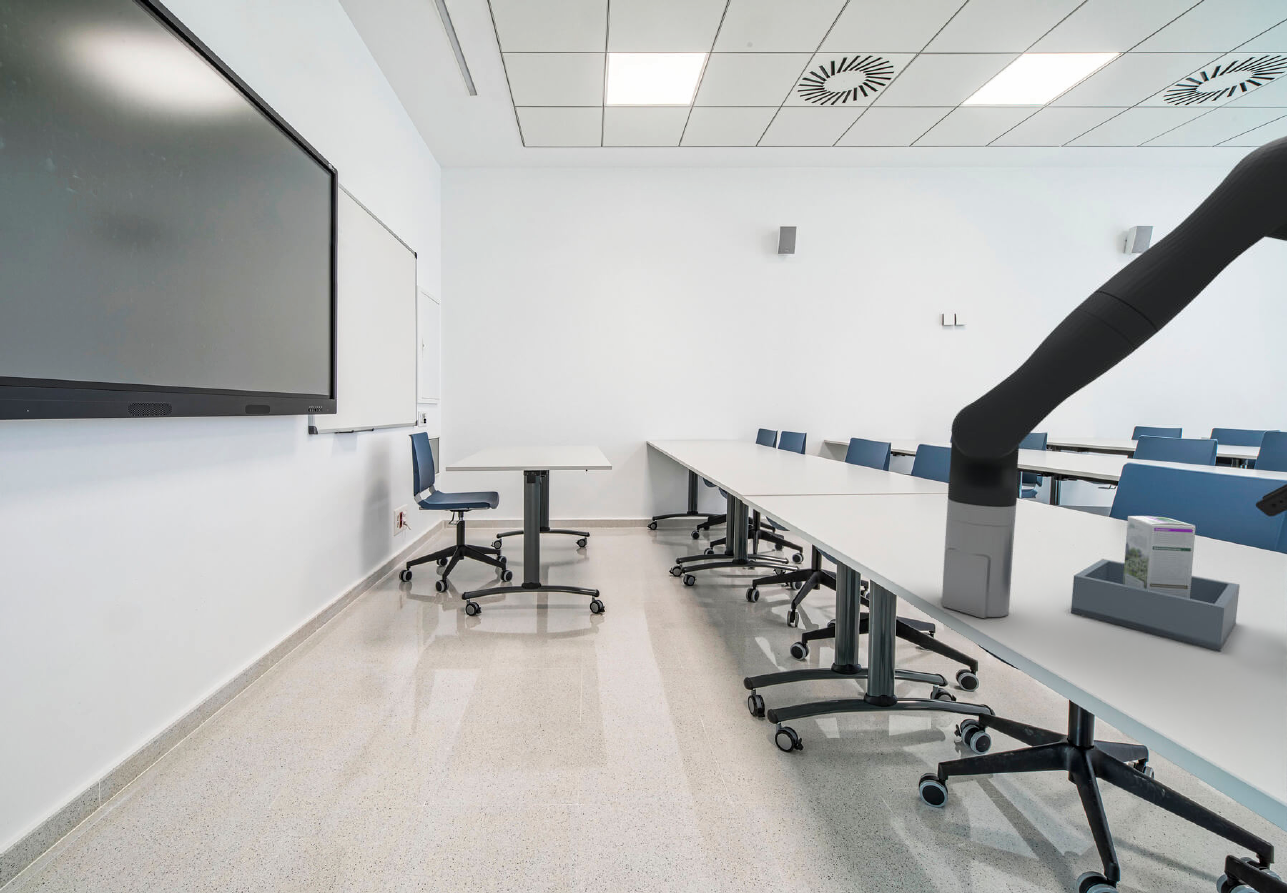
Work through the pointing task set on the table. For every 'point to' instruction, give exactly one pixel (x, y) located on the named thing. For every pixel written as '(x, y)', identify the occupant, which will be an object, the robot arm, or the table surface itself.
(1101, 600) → the tote
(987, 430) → the robot arm
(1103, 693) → the table surface
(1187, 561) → the syrup box
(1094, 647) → the table surface
